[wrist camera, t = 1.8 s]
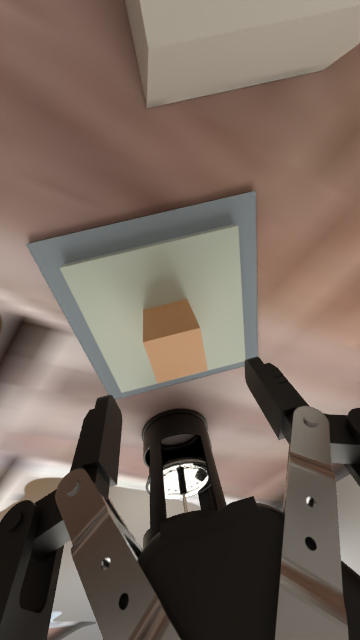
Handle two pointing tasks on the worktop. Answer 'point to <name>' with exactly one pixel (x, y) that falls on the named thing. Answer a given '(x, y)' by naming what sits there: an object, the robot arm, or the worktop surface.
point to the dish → (235, 42)
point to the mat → (147, 232)
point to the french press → (179, 468)
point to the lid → (164, 306)
